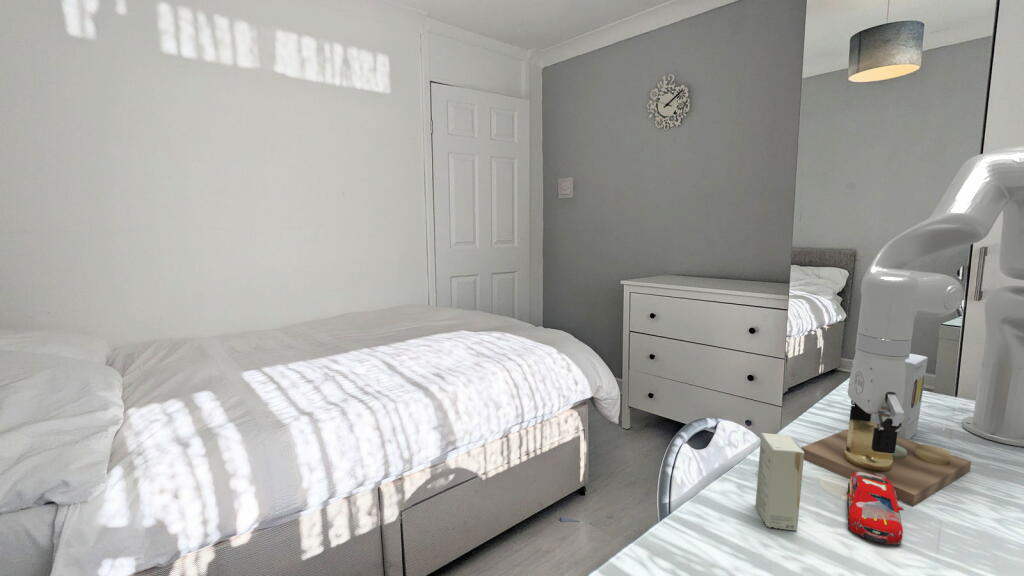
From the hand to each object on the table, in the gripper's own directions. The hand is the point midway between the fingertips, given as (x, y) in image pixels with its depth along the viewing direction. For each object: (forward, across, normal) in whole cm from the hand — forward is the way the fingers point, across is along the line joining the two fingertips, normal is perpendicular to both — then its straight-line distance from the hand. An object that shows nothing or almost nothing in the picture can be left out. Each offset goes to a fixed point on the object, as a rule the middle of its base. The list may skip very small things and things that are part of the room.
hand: (870, 438), depth 88 cm
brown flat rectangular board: (+6, -4, +4) cm, 9 cm away
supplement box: (+7, -21, +11) cm, 25 cm away
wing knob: (+4, 0, 0) cm, 4 cm away
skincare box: (+7, +19, -19) cm, 28 cm away
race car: (+7, +14, -4) cm, 17 cm away
